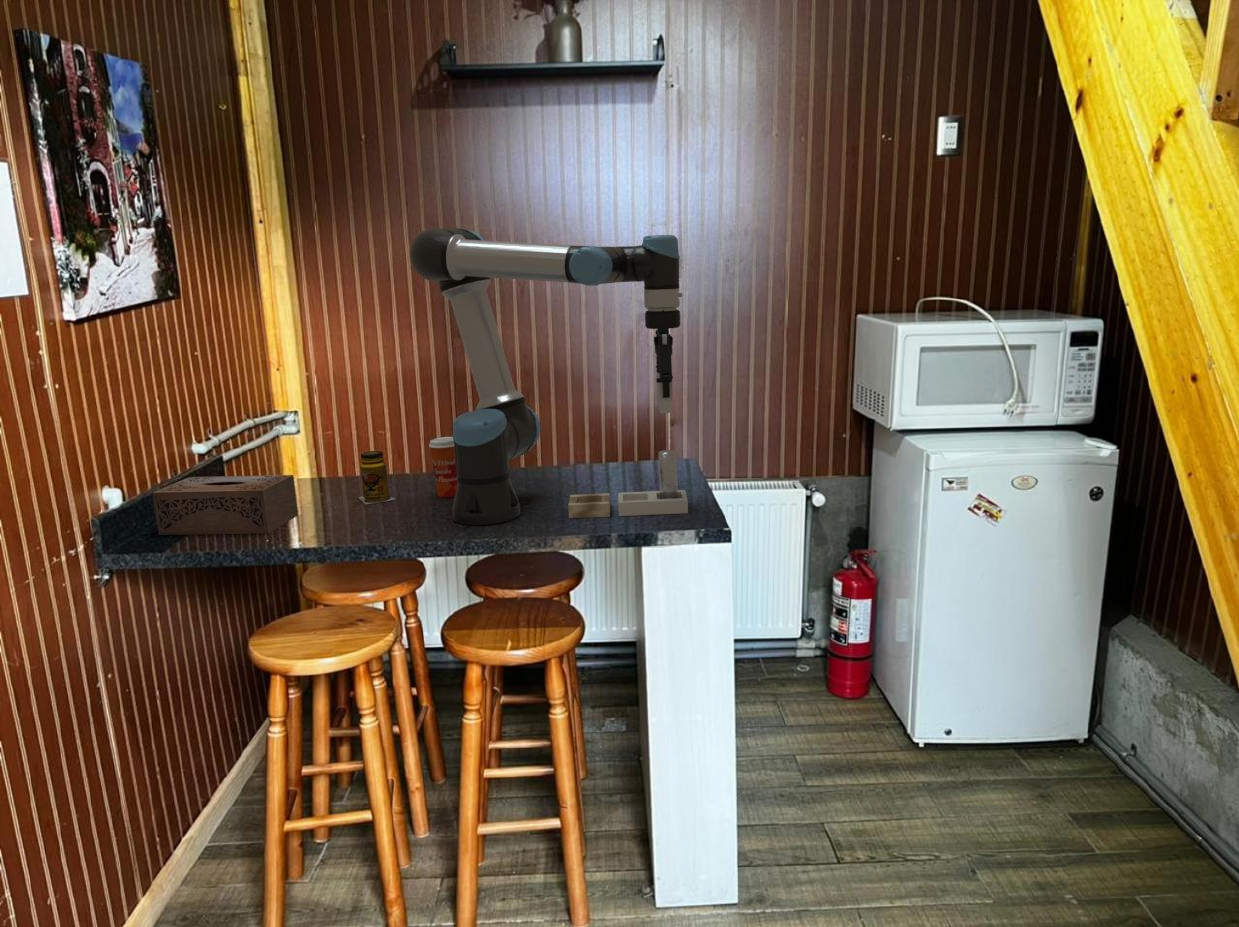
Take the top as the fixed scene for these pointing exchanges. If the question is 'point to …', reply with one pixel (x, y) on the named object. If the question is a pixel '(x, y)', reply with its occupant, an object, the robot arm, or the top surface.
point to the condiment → (374, 478)
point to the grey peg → (668, 474)
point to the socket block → (589, 505)
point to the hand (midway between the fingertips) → (664, 407)
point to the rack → (651, 503)
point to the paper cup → (444, 466)
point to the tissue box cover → (225, 505)
